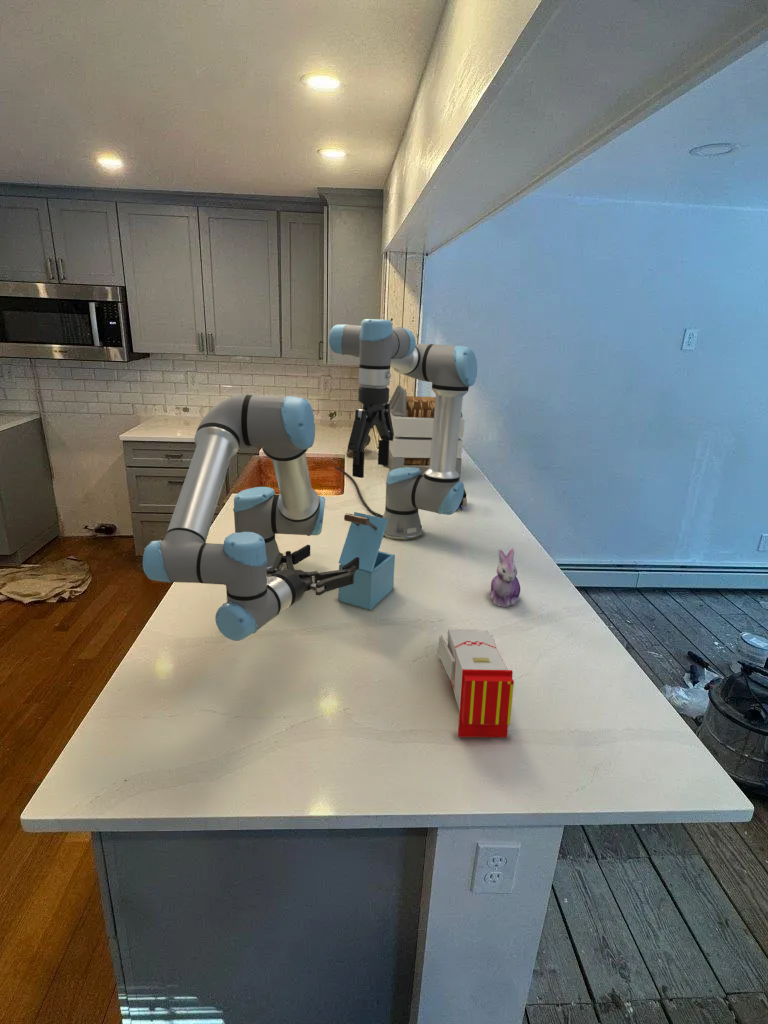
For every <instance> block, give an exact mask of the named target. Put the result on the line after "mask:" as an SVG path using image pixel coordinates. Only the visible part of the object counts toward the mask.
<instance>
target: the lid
mask: <svg viewBox="0 0 768 1024" xmlns="http://www.w3.org/2000/svg"><path fill="white" fill-rule="evenodd" d="M343 519H344V522H349V523H350V525H349V528H348V532H347V534H346V537H345V541H344V544H343V548H342V550H341V552H340V553H341V554H340V556H339V559H338V565H340V564H343V565H346V564H347V563H349V562H350V561H352V560H353V559H354V558H356V557H359V569H362V570H366V571H370V572H372V571H373V568H374V565H375V562H376V558H377V555H378V552H379V551H380V548H381V544H382V541H383V539H384V536H383V535H384V532H385V529H386V525H387V522H388V519H385V518H382V517H379V516H377V515H371V514H366V513H361V512H356V511H354V513H345V514H344V516H343Z"/></svg>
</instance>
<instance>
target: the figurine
mask: <svg viewBox="0 0 768 1024" xmlns="http://www.w3.org/2000/svg"><path fill="white" fill-rule="evenodd" d="M514 558H515V548H514V547H512V548H511V549H509V551H508V553H507V555H506V554H505V551H503V549H501V548H499V549H498V565H497V568H496V574H497V575H495V576H494V577H493V578H492V579H491V582H490V591H489V599H490V600H491V601H492V602H493V604H494V605H495V606H497V607H503V608H507V607H510V606H514V605H516V603H518V601H519V597H520V594H521V584H520V581H519V579H518V577H517V576H518V569H517V567H516V564H515V561H514Z"/></svg>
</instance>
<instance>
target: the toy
mask: <svg viewBox="0 0 768 1024" xmlns="http://www.w3.org/2000/svg"><path fill="white" fill-rule="evenodd" d="M446 640H447V643H446V641H445V639H444V636H443V635H442V634H439V637H438V646H437V656H438V657H439V659H440V661H441V663H442V666H443V668H444V670H445V672H446V674H447V677H448V679H449V681H450V684H451V687H452V690H453V693H454V697H455V701H456V705H457V708H458V711H459V714H458V715H459V716H458V730H457V731H458V732H457V737H458V738H508V731H509V726H510V725H511V717H512V707H513V697H514V696H513V695H514V684H515V680H514V679H513V673H514V671H513V670H512V669H508V667H507V665H506V662H505V661H504V659H503V658H502V655H501V653H500V651H499V649H498V647H497V643H496V639H495V637H494V635H493V634H491V632H490V631H489V629H467V628H466V629H465V628H463V629H461V628H460V629H459V628H448V630H447V639H446Z"/></svg>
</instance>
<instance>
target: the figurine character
mask: <svg viewBox="0 0 768 1024" xmlns="http://www.w3.org/2000/svg"><path fill="white" fill-rule="evenodd" d="M467 503H468V498H467V492H466V489H465V488H464V494H463V498H462V501H461V503H460V505H459V507H458V509H460V511H463V507H464V508H465V507H467Z"/></svg>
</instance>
